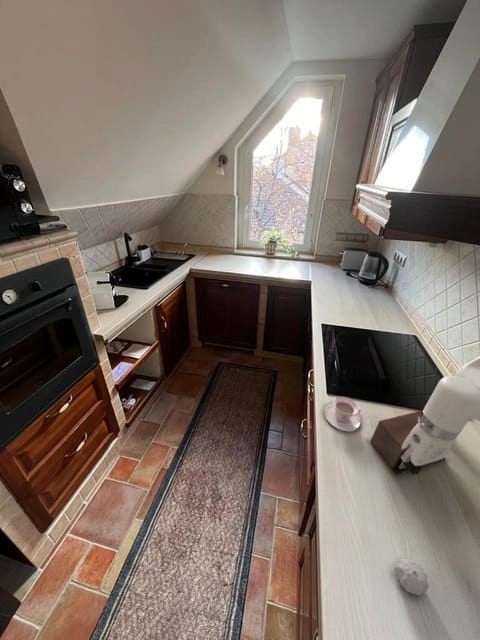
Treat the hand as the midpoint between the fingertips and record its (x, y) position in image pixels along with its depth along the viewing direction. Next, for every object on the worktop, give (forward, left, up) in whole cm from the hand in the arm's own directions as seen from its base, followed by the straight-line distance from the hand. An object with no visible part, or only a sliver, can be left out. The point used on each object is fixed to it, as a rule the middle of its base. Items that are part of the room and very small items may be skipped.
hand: (410, 468), depth 68 cm
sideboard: (-3, -11, -5) cm, 12 cm away
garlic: (+5, +22, -6) cm, 24 cm away
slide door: (-4, -3, -4) cm, 7 cm away
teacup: (+15, -18, -6) cm, 24 cm away
